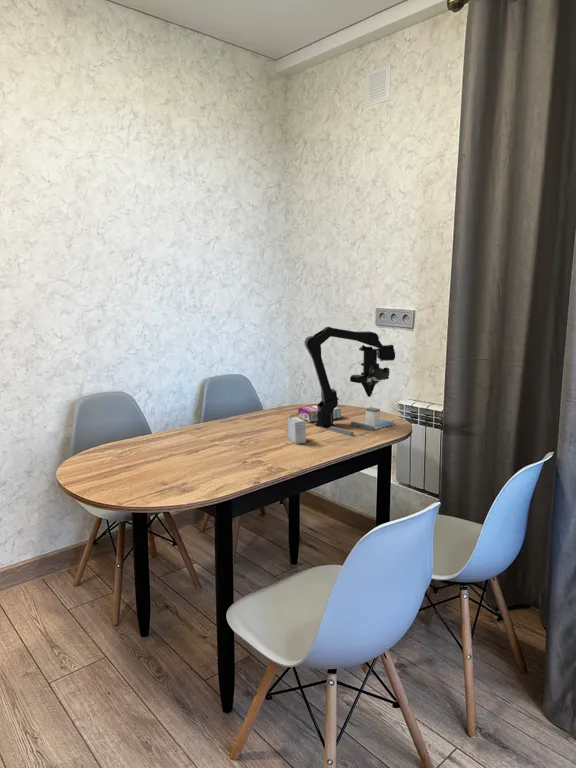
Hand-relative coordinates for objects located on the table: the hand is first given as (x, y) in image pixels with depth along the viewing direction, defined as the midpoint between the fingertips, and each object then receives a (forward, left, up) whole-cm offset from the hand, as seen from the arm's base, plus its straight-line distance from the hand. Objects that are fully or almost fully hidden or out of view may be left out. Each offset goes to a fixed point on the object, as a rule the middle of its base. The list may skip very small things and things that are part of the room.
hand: (369, 396), depth 230 cm
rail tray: (-7, -3, -12) cm, 14 cm away
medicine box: (-41, 0, -12) cm, 43 cm away
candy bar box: (-17, +24, -10) cm, 31 cm away
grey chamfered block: (0, -3, -12) cm, 12 cm away
